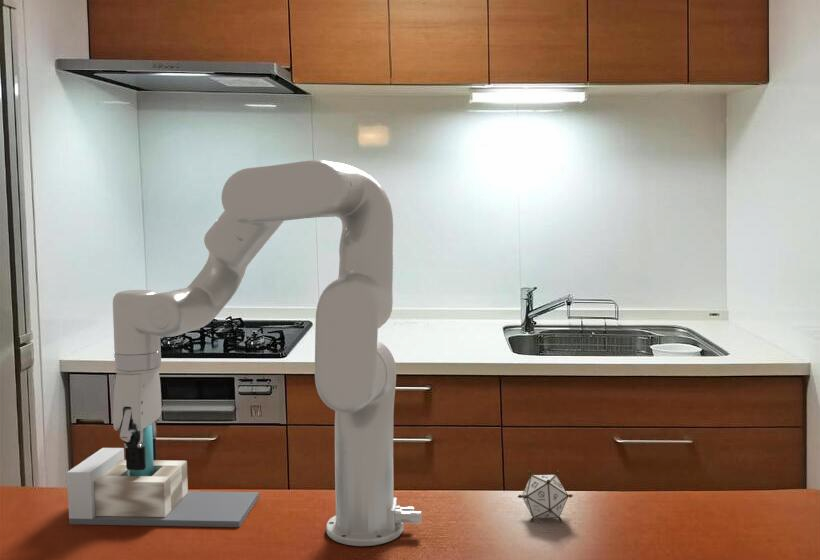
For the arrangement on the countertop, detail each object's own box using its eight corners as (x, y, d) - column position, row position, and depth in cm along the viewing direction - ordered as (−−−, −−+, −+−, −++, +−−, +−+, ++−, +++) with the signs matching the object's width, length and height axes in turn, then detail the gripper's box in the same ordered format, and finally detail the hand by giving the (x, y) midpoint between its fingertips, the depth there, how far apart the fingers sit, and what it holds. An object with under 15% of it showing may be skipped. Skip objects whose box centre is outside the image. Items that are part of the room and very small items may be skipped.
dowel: (157, 483, 133) (155, 417, 132) (148, 491, 129) (146, 423, 128) (135, 483, 133) (133, 417, 132) (126, 491, 129) (123, 423, 128)
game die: (549, 535, 129) (575, 484, 132) (560, 538, 121) (588, 483, 123) (503, 508, 130) (530, 457, 133) (511, 509, 122) (540, 455, 124)
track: (259, 497, 137) (258, 449, 136) (239, 527, 124) (238, 474, 123) (104, 495, 139) (102, 447, 138) (69, 524, 126) (66, 472, 125)
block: (187, 492, 137) (186, 460, 136) (165, 516, 126) (164, 482, 125) (123, 491, 137) (122, 459, 137) (95, 515, 126) (94, 481, 126)
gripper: (137, 352, 138) (140, 449, 139) (94, 371, 121) (98, 481, 123) (177, 352, 137) (179, 449, 139) (139, 372, 121) (143, 482, 122)
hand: (141, 463), depth 131 cm, fingers closed on dowel, 4 cm apart
